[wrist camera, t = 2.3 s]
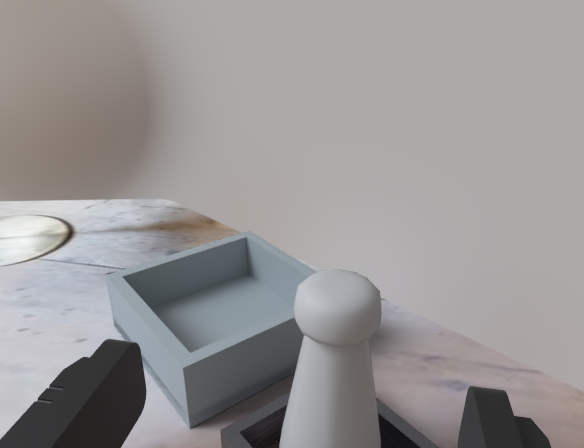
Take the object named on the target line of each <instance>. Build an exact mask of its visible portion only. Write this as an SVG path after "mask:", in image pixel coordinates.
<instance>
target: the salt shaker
mask: <svg viewBox="0 0 584 448" xmlns="http://www.w3.org/2000/svg"><path fill="white" fill-rule="evenodd" d="M294 316H295V320H296V322H297V324H298V326H299V328H300V330H301V332H302V333H303V334H304V337H303V342H302V346H301V350H300V354H299V359H298V363H297V367H296V371H295V376H294V380H293V384H292V388H291V393H290V397H289V401H288V405H287V410H286V414H285V418H284V422H283V427H282V432H281V439H280V445H279V447H280V448H381V438H380V429H379V421H378V412H377V404H376V395H375V387H374V378H373V370H372V361H371V353H370V345H369V339H370V338H371V337H372V335H373V334H374V333H375V332H376V330H377V329H378V327H379V325H380V320H381V298H380V291H379V290H378V289H377V288H376V287H375V286H374V285H373V284H372V282H371V281H370V280H368V278H366V277H364V276H362V275H360V274H358V273H356V272H352V271H346V270H324V271H321V272H318V273H315V274H312V275H311V276H309V277H308V278H307V279H306V280H304V281H303V282H302V283H301V284H299V285H298V288H297V293H296V298H295V303H294Z"/></svg>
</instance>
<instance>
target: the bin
mask: <svg viewBox="0 0 584 448" xmlns="http://www.w3.org/2000/svg"><path fill="white" fill-rule="evenodd" d="M315 273H318V272H316V271H314V270H313V269H311V268H309V267H308V266H306V265H305V264H303V263H301V262H300V261H298V260H296V259H295V258H293V257H292V256H290V255H288V254H287V253H285V252H283V251H282V250H280V249H278V248H277V247H275V246H274V245H272V244H270V243H268V242H267V241H266V240H264V239H262V238H261V237H259V236H257V235H256V234H254V233H253V232H251V231H247V232H244V233H240V234H237V235H234V236H231V237H227V238H224V239H221V240H218V241H215V242H211V243H208V244H205V245H202V246H199V247H195V248H192V249H189V250H186V251H182V252H179V253H176V254H173V255H170V256H166V257H163V258H160V259H157V260H154V261H150V262H147V263H144V264H141V265H137V266H134V267H131V268H128V269H125V270H121V271H118V272H115V273H112V274H109V275H105V276H106V281H107V287H108V292H109V298H110V303H111V308H112V314H113V319H114V325H115V327H116V328H117V330H118V331H119V333H120V334H121V335H122V337H123V338H124V339H125V341H128V342H136V343H138V344H139V346H140V349H141V356H142V363H143V365H144V367H145V368H146V369H147V371H148V372H149V373H150V375H151V376H152V377H153V379H154V380H155V382H156V383H157V384H158V386H159V387H160V388H161V390H162V391H163V392H164V394H165V395H166V396H167V398H168V399H169V401H170V402H171V403H172V405H173V406H174V407H175V409H176V410H177V411H178V413H179V414H180V416H181V417H182V418H183V420H184V421H185V422H186V424H187V425H188V426H189V428H192V427H194V426H195V425H197V424H199V423H201V422H203V421H205V420H207V419H209V418H210V417H212V416H214V415H216V414H218V413H220V412H222V411H223V410H225V409H227V408H229V407H231V406H233V405H235V404H237V403H238V402H240V401H242V400H244V399H246V398H248V397H250V396H252V395H253V394H255V393H257V392H259V391H261V390H263V389H265V388H266V387H268V386H270V385H272V384H274V383H276V382H278V381H280V380H281V379H283V378H285V377H287V376H289V375H291V374H293V373H294V372H295V371H296V367H297V363H298V359H299V354H300V350H301V346H302V342H303V337H304V334H303V333H302V332H301V330H300V328H299V326H298V324H297V322H296V320H295V316H294V303H295V298H296V293H297V288H298V285H299V284H301V283H302V282H303V281H304V280H306V279H307V278H308V277H309V276H311V275H312V274H315Z"/></svg>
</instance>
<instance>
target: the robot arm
mask: <svg viewBox="0 0 584 448" xmlns="http://www.w3.org/2000/svg"><path fill="white" fill-rule="evenodd" d="M145 400H146V384H145V377H144V370H143V363H142V356H141V349H140V346H139V344H138V343H136V342H128V341H120V340H112V339H108V340H105V341H104V342H103V343H102V344H101V345H100V347H99V348H98V349H97V350H96V351H95V352H94V354H93V355H92V356H91V357H90V358H88V357H83V358H81V359H79V360H78V361H76V362H75V363H73V364H72V365H70V366H68V367H67V368H65V369H64V370H63V371H62V372H61V373H60V374H59V375H58V376H57V377H56V379H55V380H54V381H53V382H52V383H51V384H50V387H49V389H48V388H47V389H46V390H45V391H44V392H43V393H42V394H41V395H40V396H39V397H38V401H37V402H34V403H33V404H32V405H31V406H30V407H29V409H28V410H27V411H26V412H25V413H24V414H23V415H22V416H21V417H20V419H19V420H18V421H17V422H16V423H15V424H14V425H13V426H12V427H11V429H10V430H9V431H8V432H7V433H6V434H5V435H4V436H3V437H2V438H1V440H0V448H121V446H122V445H123V443H124V441H125V440H126V438H127V436H128V435H129V433H130V432H131V430H132V428H133V427H134V425H135V423H136V422H137V420H138V418H139V417H140V415H141V413H142V411H143V408H144V405H145ZM458 448H551V446H550V443H549V440H548V438H547V437H546V436H545V435H544V433H543V432H542V431H541V430H540V429H539V428H538V426H537V425H536V424H535V423H534V422H533V420H532V419H531V418H525V417H517V416H514V415H513V412H512V408H511V405H510V402H509V399H508V396H507V393H506V392H505V391H504V390H497V389H489V388H481V387H473V386H470V387H469V389H468V392H467V396H466V402H465V407H464V412H463V417H462V422H461V427H460V432H459V438H458Z"/></svg>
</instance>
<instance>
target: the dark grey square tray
mask: <svg viewBox="0 0 584 448" xmlns="http://www.w3.org/2000/svg"><path fill="white" fill-rule="evenodd" d="M290 393H291V391H290V392H288V393H286V394H284V395H283V396H281V397H279V398H277V399H275V400H274V401H272V402H270V403H268V404H267V405H265V406H263V407H261V408H259V409H258V410H256V411H254V412H252V413H250V414H249V415H247V416H245V417H243V418H241V419H240V420H238V421H236V422H234V423H233V424H231V425H229V426H227V427H225V428H224V429H222V430H220V431H221V443H222V448H266V447H267V446H269V445H270V444H272V443H274V442H275V441H277V440H279V439H280V438H281V432H282V427H283V422H284V418H285V414H286V410H287V405H288V401H289V397H290ZM376 404H377V412H378V421H379V429H380V438H381V448H439V447H437V446H436V445H435V444H433V443H432V442H431V441H430V440H428V439H427V438H426V437H425V436H423V435H422V434H421V433H420V432H418V431H417V430H416V429H415V428H413V427H412V426H411V425H410V424H408V423H407V422H406V421H405V420H403V419H402V418H401V417H399V416H398V415H397V414H396V413H394V412H393V411H392V410H391V409H389V408H388V407H387V406H386V405H384V404H383V403H382V402H381V401H379V400H378V399H377V398H376Z"/></svg>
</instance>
